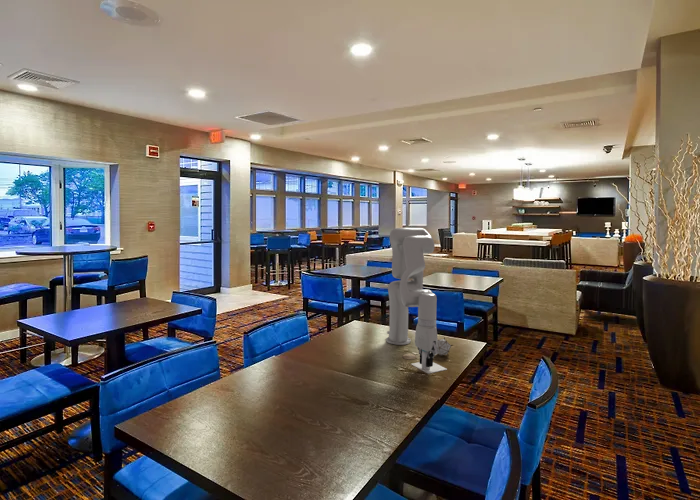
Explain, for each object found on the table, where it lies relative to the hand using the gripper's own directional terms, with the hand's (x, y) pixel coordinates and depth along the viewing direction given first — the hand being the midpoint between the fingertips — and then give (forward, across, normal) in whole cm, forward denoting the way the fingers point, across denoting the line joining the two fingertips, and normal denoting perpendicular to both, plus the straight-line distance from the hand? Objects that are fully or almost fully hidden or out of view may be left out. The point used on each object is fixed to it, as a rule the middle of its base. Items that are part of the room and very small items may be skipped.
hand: (426, 364), depth 174 cm
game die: (+2, -11, +18) cm, 21 cm away
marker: (+1, 0, 0) cm, 1 cm away
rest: (+2, -16, +3) cm, 16 cm away
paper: (+2, -2, +3) cm, 4 cm away
